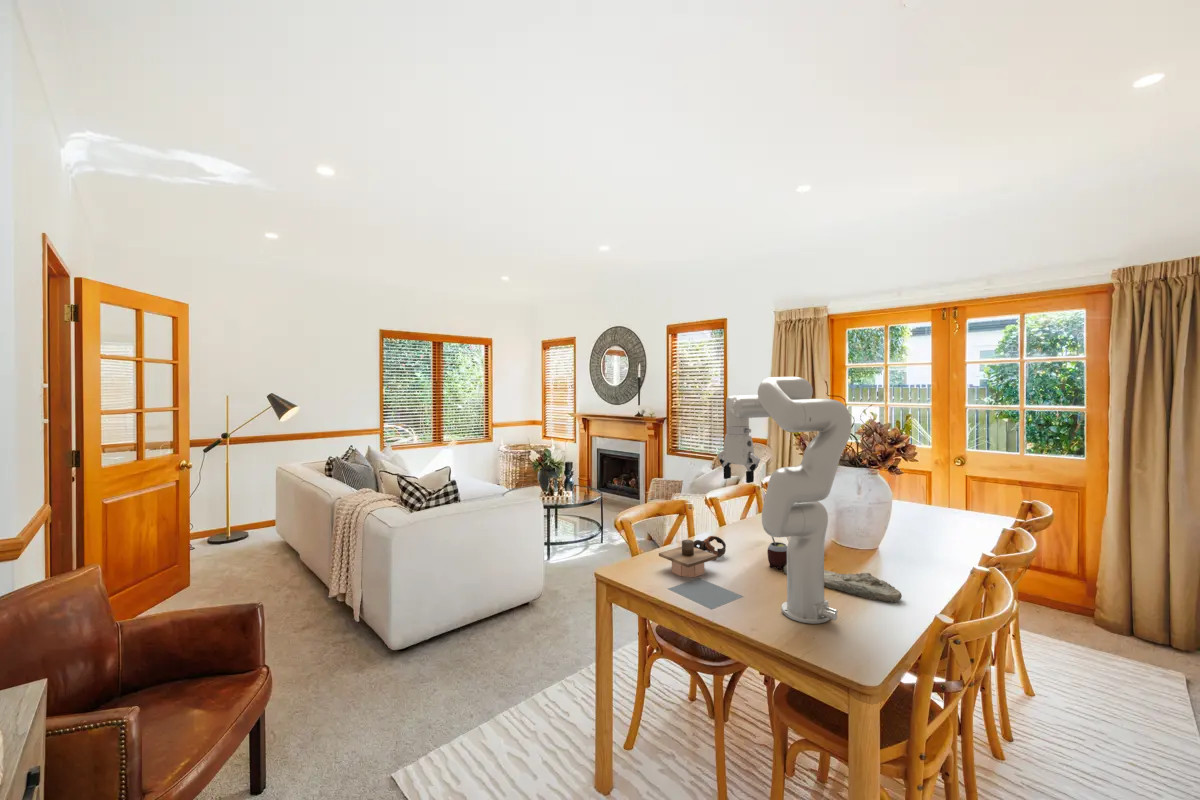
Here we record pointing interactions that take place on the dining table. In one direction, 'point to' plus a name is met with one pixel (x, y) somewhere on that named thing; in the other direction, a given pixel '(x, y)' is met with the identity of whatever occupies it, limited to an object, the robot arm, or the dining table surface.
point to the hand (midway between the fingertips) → (738, 480)
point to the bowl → (688, 570)
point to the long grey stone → (860, 585)
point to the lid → (688, 554)
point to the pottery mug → (707, 546)
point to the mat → (705, 593)
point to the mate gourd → (777, 554)
